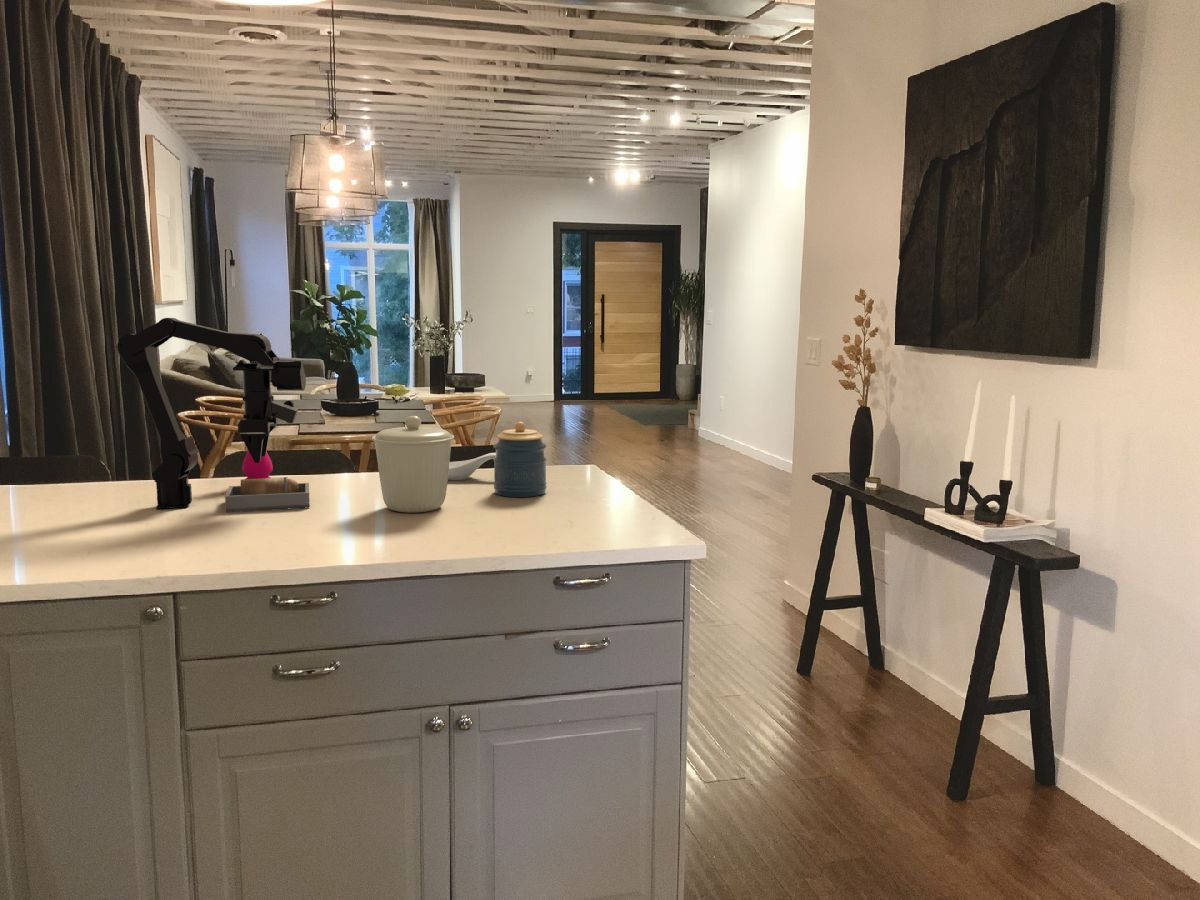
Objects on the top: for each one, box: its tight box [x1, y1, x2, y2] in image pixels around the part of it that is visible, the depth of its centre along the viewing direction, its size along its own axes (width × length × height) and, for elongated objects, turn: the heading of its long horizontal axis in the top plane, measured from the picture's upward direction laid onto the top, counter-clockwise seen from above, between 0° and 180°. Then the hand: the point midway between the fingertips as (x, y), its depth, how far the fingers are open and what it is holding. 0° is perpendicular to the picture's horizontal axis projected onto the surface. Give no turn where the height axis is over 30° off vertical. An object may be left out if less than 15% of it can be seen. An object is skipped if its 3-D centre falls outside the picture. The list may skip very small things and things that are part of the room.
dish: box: [224, 482, 310, 513], centre depth 215 cm, size 18×13×4 cm
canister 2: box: [493, 421, 548, 498], centre depth 230 cm, size 13×13×18 cm
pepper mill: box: [241, 449, 274, 479], centre depth 236 cm, size 7×7×20 cm
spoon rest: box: [448, 452, 496, 481], centre depth 250 cm, size 24×12×7 cm, turn 85°
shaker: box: [240, 476, 299, 495], centre depth 217 cm, size 5×5×12 cm
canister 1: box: [371, 415, 455, 514], centre depth 211 cm, size 18×18×21 cm
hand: (260, 459), depth 213 cm, fingers open, 9 cm apart
